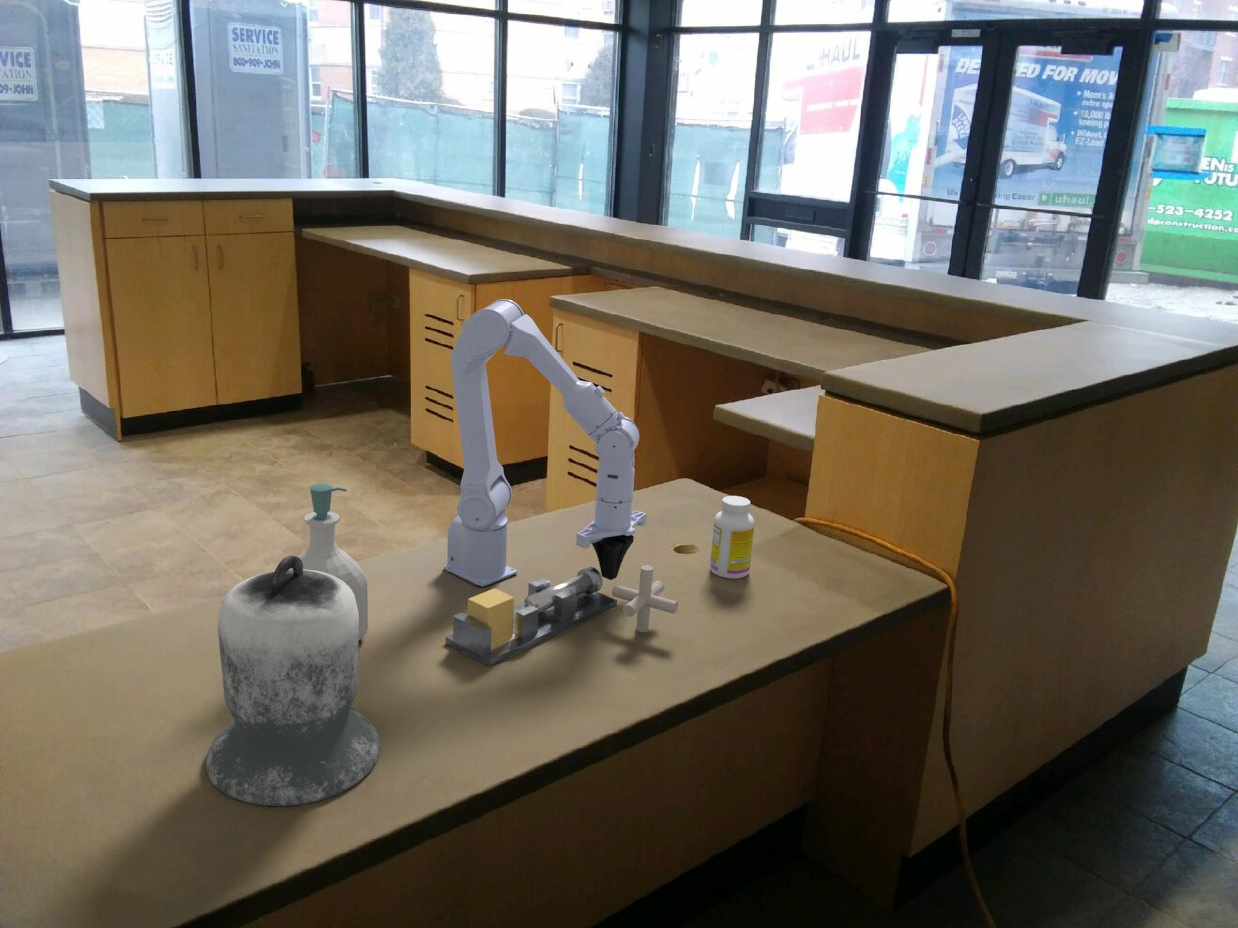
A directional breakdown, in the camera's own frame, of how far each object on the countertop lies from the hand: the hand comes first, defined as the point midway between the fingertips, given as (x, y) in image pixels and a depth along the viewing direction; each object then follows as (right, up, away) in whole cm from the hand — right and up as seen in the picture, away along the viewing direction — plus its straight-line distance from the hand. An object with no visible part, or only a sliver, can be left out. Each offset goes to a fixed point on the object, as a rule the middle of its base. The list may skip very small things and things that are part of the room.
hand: (609, 577), depth 170 cm
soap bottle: (-40, -7, -19) cm, 45 cm away
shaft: (-7, -3, -8) cm, 11 cm away
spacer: (-17, -6, -18) cm, 26 cm away
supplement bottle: (+20, 0, +11) cm, 23 cm away
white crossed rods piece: (+5, -7, -11) cm, 14 cm away
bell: (-36, -16, -46) cm, 60 cm away
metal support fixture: (-11, -6, -11) cm, 17 cm away
